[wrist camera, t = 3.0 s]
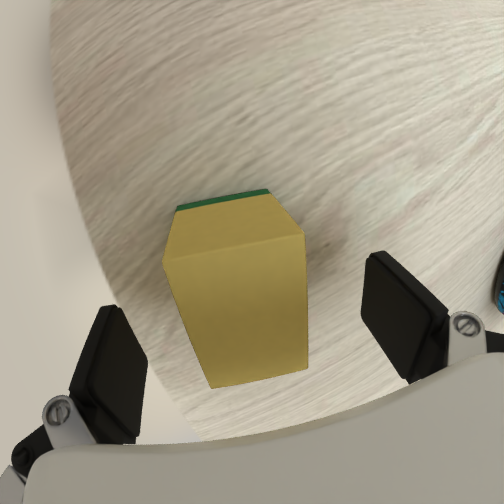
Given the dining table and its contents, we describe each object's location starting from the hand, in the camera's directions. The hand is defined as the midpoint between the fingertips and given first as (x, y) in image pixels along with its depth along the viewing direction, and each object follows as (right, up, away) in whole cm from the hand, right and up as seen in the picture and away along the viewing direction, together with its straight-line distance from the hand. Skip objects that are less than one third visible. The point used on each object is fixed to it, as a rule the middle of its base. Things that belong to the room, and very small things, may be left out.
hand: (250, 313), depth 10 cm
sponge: (-1, +2, +3) cm, 4 cm away
